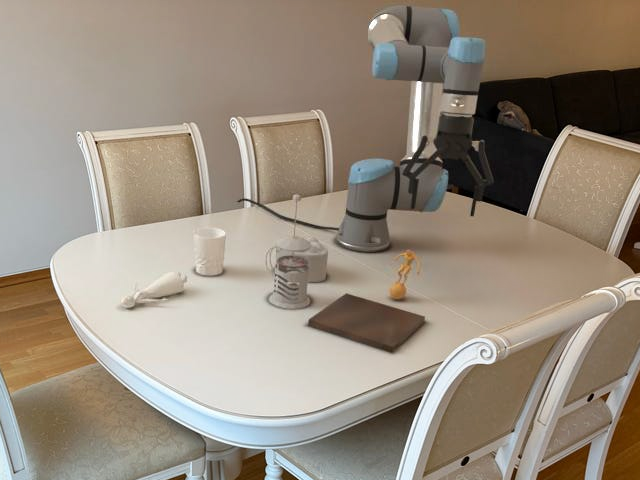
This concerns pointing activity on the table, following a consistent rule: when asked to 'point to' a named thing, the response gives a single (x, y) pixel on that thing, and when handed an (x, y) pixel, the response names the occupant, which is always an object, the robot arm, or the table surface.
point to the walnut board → (367, 322)
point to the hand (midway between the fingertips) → (442, 211)
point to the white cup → (209, 250)
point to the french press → (289, 293)
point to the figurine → (398, 288)
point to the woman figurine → (156, 290)
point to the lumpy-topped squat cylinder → (310, 260)
